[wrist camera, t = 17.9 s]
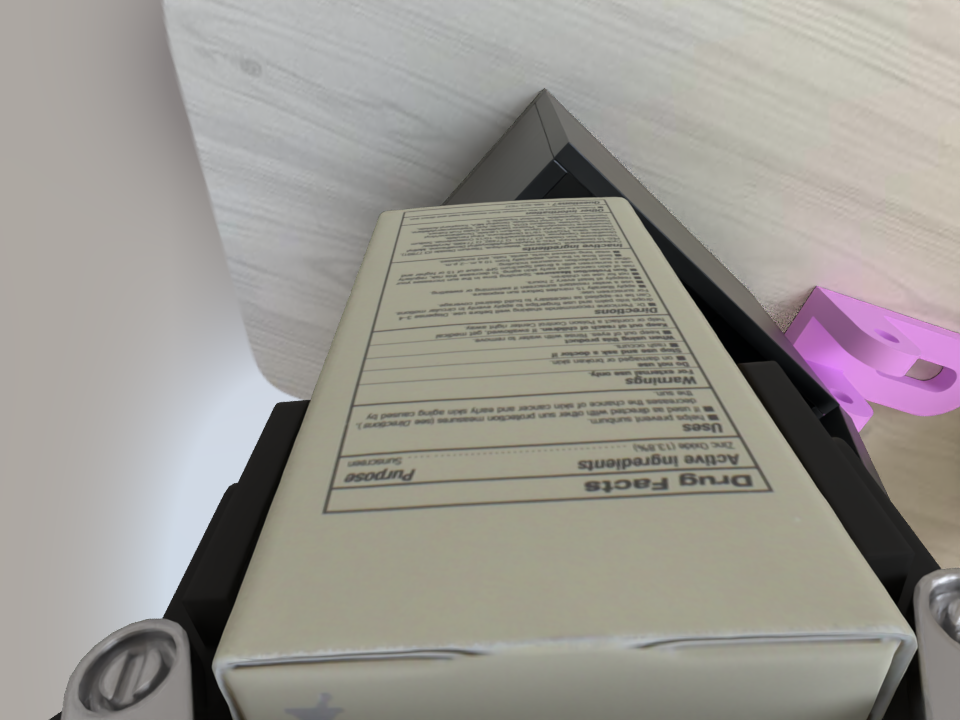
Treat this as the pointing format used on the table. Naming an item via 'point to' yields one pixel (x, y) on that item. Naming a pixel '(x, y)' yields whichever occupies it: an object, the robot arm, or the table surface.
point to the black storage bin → (597, 173)
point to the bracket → (875, 356)
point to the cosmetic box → (547, 503)
